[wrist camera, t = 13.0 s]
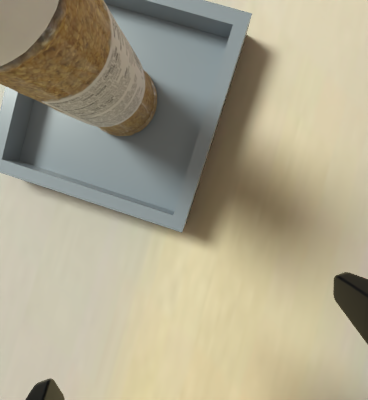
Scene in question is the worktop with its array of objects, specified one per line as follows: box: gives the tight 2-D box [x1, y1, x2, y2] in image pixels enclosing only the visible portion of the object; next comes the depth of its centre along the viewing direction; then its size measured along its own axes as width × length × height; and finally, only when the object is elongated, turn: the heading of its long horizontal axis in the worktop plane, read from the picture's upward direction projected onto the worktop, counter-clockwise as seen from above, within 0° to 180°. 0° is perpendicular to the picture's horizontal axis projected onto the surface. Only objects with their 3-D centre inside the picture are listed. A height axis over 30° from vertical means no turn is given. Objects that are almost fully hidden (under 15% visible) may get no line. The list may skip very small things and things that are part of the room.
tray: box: [0, 0, 252, 232], centre depth 17 cm, size 13×13×2 cm
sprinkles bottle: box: [0, 0, 157, 136], centre depth 11 cm, size 5×5×13 cm
